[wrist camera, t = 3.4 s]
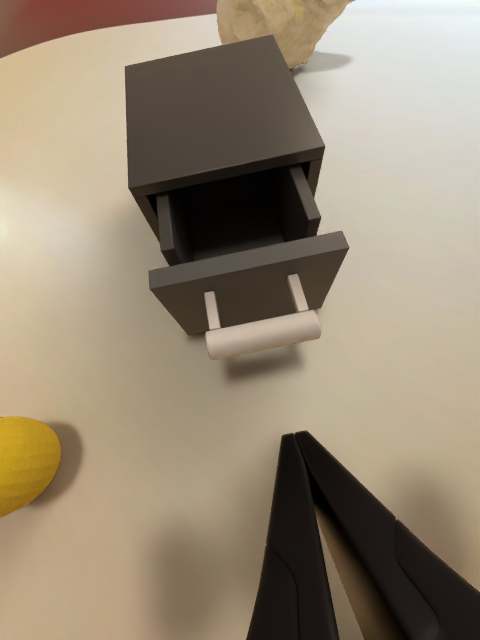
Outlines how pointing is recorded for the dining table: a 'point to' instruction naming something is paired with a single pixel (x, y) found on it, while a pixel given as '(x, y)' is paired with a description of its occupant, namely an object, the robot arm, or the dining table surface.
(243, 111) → the dark drawer box
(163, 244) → the dark grey drawer
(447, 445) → the dining table surface
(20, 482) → the lemon
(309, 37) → the beige rock
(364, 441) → the dining table surface
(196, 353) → the dining table surface
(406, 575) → the robot arm
